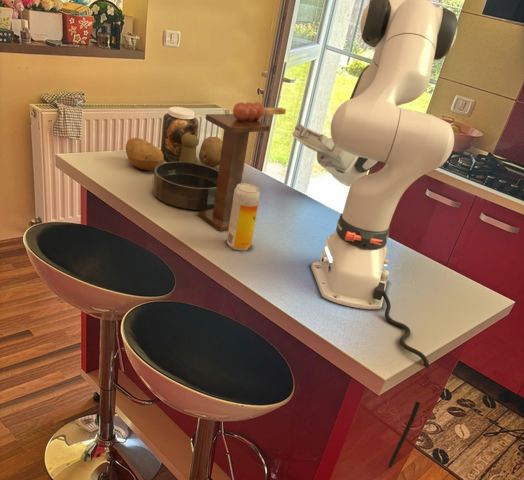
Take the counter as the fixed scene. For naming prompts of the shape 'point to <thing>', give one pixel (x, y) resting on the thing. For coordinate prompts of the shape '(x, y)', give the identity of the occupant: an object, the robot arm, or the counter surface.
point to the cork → (188, 148)
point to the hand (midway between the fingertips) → (309, 131)
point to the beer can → (243, 216)
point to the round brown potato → (211, 151)
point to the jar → (177, 131)
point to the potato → (143, 154)
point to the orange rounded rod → (254, 111)
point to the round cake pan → (186, 185)
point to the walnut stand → (229, 165)
